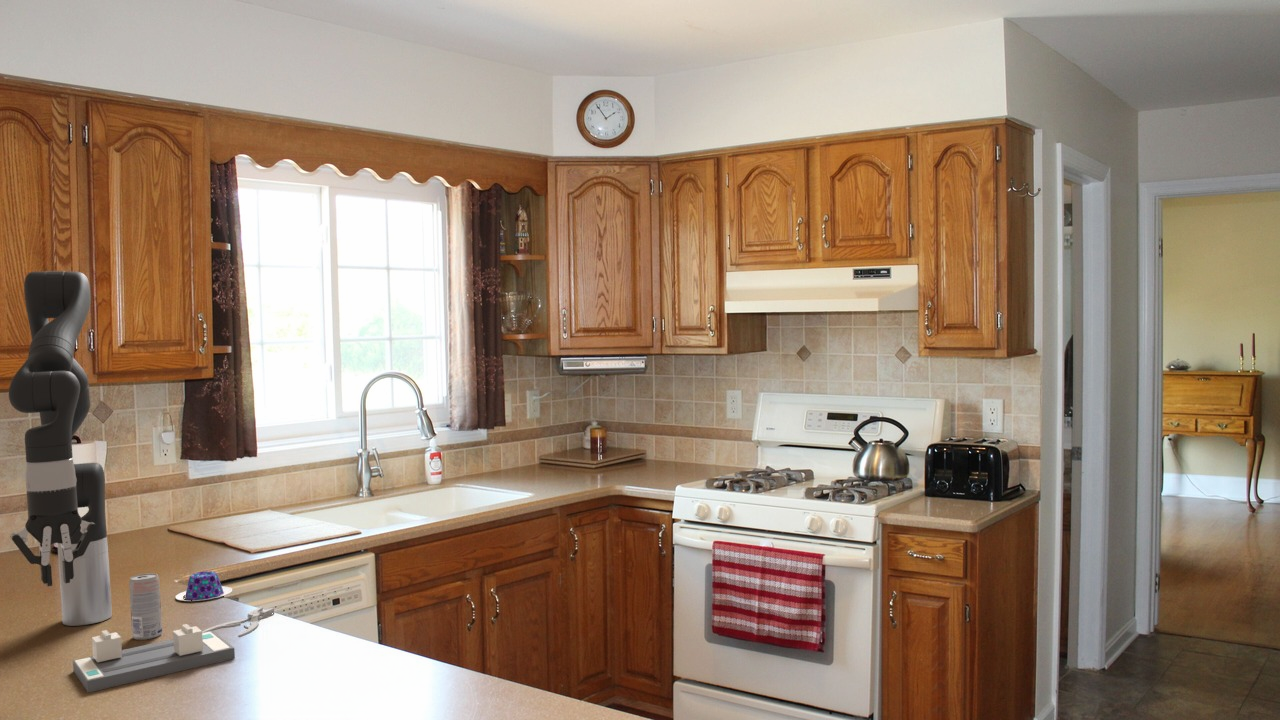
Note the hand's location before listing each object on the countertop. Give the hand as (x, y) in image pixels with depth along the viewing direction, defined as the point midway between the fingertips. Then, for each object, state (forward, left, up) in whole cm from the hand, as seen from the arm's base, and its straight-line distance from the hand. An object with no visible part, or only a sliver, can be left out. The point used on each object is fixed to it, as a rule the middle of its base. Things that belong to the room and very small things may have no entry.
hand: (57, 583), depth 176 cm
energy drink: (-17, +17, -17) cm, 29 cm away
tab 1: (0, +7, -15) cm, 16 cm away
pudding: (-41, +34, -18) cm, 56 cm away
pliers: (-11, +34, -18) cm, 40 cm away
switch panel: (+3, +14, -17) cm, 22 cm away
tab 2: (+7, +19, -15) cm, 25 cm away
